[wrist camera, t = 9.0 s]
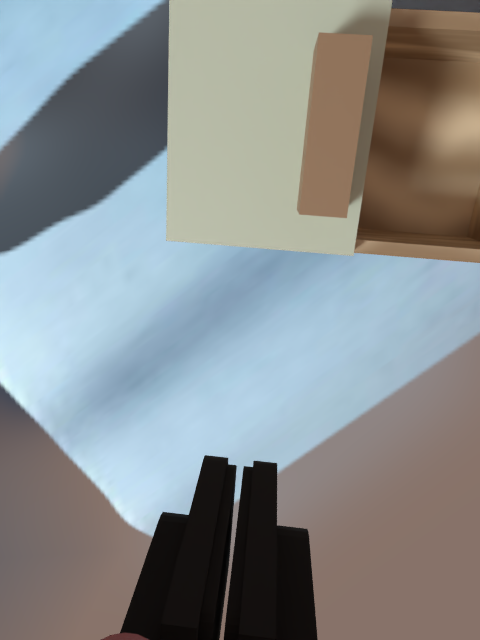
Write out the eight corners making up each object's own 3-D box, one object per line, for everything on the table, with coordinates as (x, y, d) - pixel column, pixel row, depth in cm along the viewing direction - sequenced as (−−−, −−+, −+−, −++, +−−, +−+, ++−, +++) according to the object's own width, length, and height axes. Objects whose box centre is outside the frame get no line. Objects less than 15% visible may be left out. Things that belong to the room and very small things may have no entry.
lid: (173, -4, 29) (152, -40, 24) (387, 6, 28) (410, -29, 23) (170, 238, 34) (151, 249, 29) (350, 253, 34) (363, 267, 29)
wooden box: (346, 44, 37) (367, 7, 29) (517, 54, 36) (589, 18, 28) (322, 235, 42) (333, 250, 34) (471, 246, 42) (520, 266, 33)
